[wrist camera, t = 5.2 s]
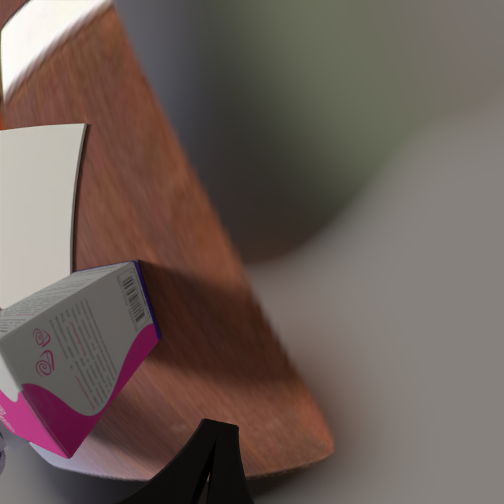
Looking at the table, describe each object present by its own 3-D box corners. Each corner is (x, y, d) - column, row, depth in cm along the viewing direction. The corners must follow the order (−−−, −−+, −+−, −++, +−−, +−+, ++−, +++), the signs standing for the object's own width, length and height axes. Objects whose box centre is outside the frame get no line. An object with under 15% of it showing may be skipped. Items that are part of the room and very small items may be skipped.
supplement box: (74, 270, 18) (-49, 333, 7) (139, 257, 17) (-2, 339, 6) (99, 342, 19) (5, 433, 8) (163, 339, 18) (75, 464, 7)
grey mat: (77, 345, 19) (76, 347, 19) (-26, 288, 20) (-28, 288, 20) (86, 124, 15) (84, 123, 15) (-24, 135, 16) (-26, 135, 16)
